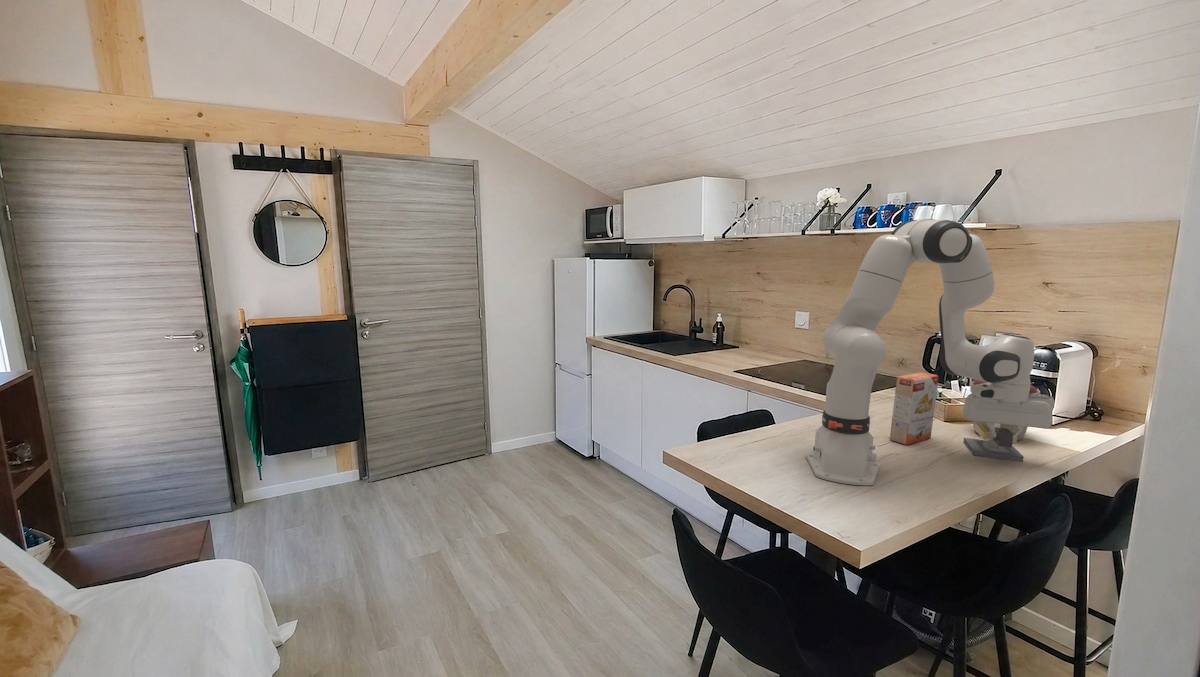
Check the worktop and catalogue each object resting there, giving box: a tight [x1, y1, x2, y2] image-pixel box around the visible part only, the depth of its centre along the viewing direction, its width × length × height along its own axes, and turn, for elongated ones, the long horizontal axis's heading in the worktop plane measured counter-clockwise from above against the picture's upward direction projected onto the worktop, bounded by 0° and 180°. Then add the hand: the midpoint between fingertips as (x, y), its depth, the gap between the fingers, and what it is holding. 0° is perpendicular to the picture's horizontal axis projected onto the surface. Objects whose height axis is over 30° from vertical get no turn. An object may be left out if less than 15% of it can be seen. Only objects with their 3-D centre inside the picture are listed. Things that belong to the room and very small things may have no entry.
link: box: [974, 423, 1018, 448], centre depth 158 cm, size 15×8×4 cm, turn 158°
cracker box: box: [889, 371, 940, 446], centre depth 169 cm, size 14×6×21 cm, turn 121°
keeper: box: [963, 423, 1024, 462], centre depth 160 cm, size 12×12×12 cm
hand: (1003, 438), depth 153 cm, fingers closed on link, 3 cm apart
